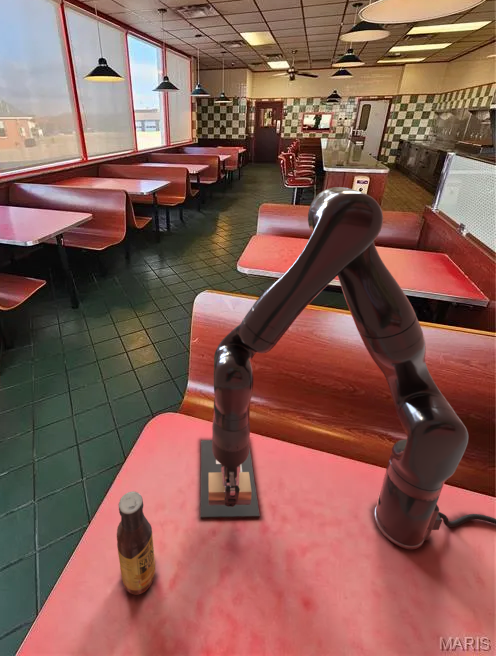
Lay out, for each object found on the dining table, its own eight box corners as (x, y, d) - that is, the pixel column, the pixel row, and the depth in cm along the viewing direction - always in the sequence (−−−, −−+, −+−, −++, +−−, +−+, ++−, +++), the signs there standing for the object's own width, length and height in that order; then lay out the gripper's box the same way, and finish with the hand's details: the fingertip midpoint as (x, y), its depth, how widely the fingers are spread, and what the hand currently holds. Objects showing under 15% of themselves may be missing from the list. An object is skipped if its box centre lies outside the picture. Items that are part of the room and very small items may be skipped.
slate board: (248, 440, 91) (248, 439, 91) (259, 517, 72) (259, 516, 72) (201, 441, 91) (201, 440, 91) (200, 518, 72) (200, 516, 72)
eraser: (248, 484, 75) (248, 471, 73) (250, 504, 70) (251, 491, 69) (208, 484, 74) (208, 472, 73) (208, 505, 70) (208, 492, 69)
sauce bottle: (149, 600, 59) (139, 529, 52) (116, 592, 60) (103, 521, 53) (160, 558, 65) (154, 489, 58) (131, 551, 66) (121, 483, 59)
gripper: (254, 466, 59) (250, 527, 66) (245, 407, 73) (242, 462, 79) (213, 467, 59) (212, 528, 66) (211, 407, 73) (211, 463, 79)
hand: (229, 492), depth 72 cm, fingers closed on eraser, 4 cm apart
